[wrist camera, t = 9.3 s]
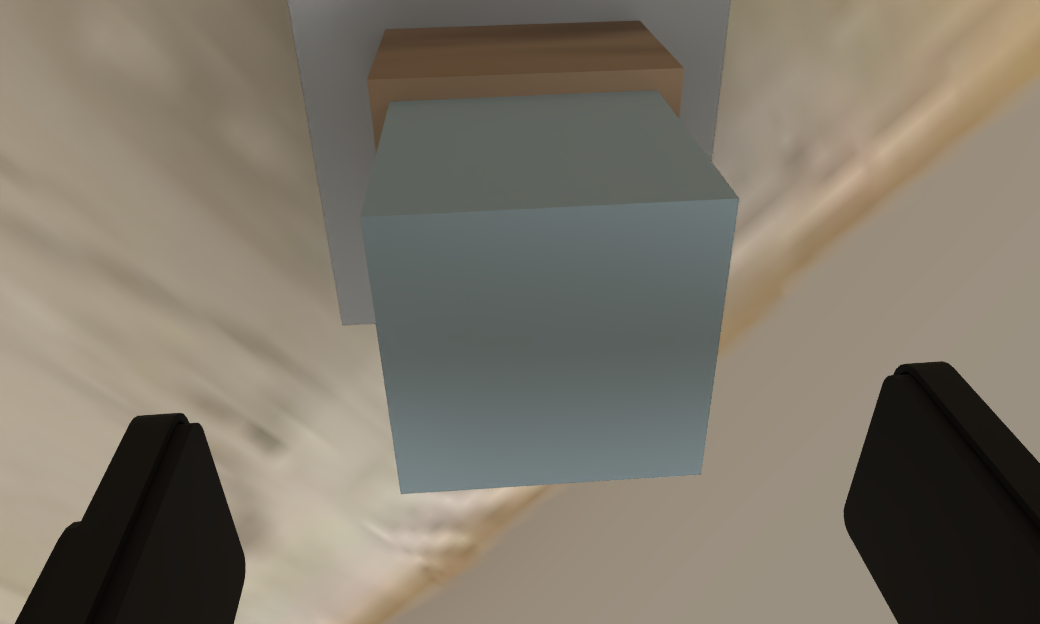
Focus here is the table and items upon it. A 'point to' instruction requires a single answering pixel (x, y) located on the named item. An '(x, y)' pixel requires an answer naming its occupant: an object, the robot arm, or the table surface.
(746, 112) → the table surface
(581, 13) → the slate base
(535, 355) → the cube
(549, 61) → the walnut block
